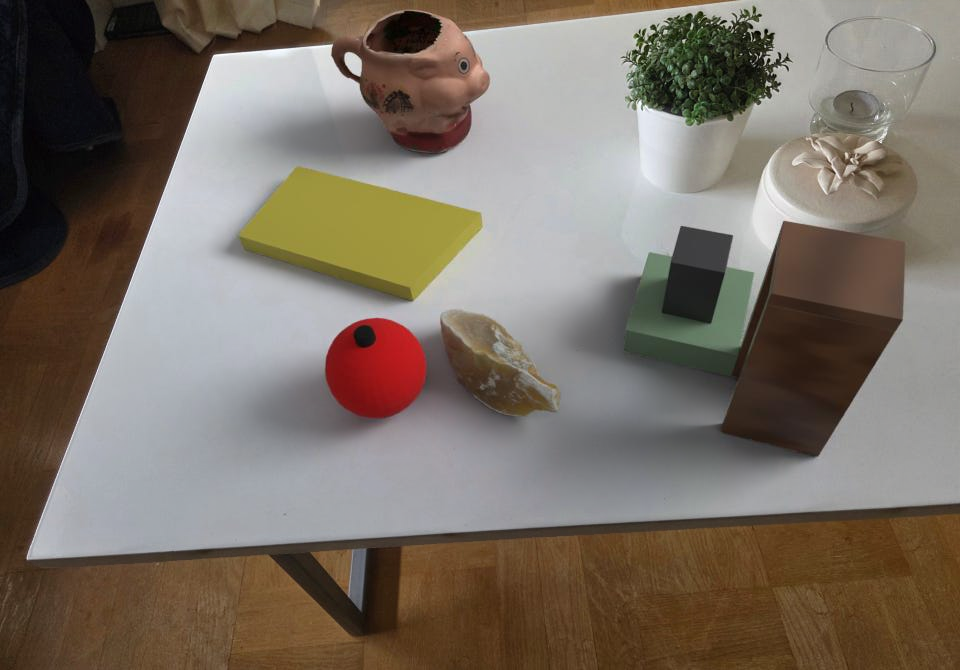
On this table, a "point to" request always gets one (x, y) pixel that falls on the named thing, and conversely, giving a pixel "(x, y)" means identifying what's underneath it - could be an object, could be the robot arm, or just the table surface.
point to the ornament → (375, 368)
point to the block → (696, 273)
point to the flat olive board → (360, 232)
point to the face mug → (417, 77)
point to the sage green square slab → (688, 322)
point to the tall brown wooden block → (814, 334)
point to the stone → (494, 365)
